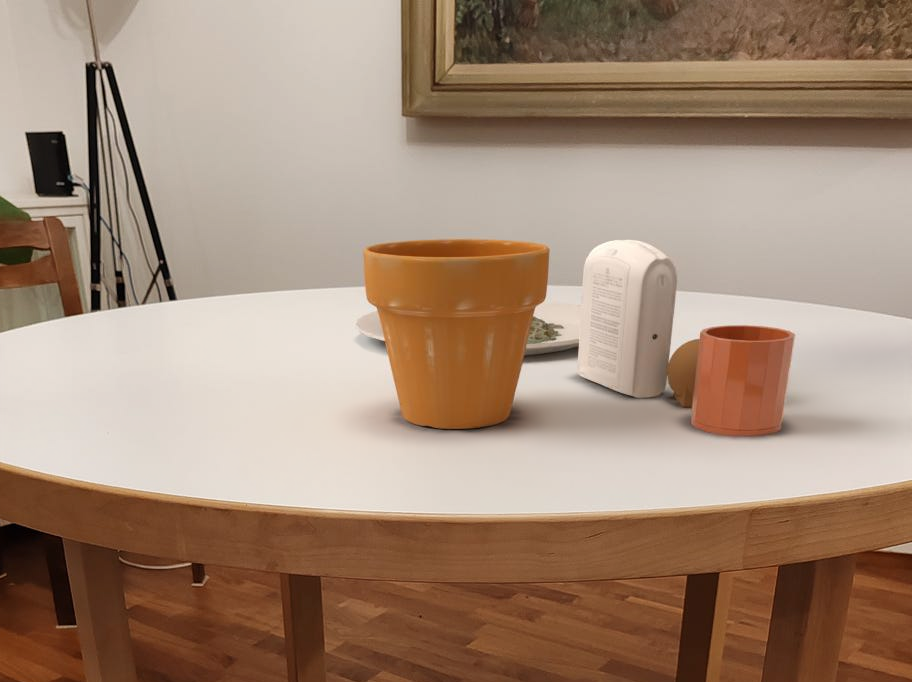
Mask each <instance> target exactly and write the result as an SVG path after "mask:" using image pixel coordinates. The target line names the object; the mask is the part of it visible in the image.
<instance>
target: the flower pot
mask: <svg viewBox="0 0 912 682" xmlns="http://www.w3.org/2000/svg"><path fill="white" fill-rule="evenodd" d="M550 252H551V251H550V248H549V246H547V245H545V244H543V243H537V242H529V241H521V240H509V239H508V240H507V239H487V238H486V239H485V238H483V239H482V238H439V239H437V238H436V239H415V240H400V241H391V242H383V243H376V244H373V245H370V246H367V247H365V248H363V255H362V256H363V271H364V272H363V273H364V285H365V286H364V288H365V296H366V300H367V302H368V303H369V304H370V305H372V306H374V307H375V308H376V311H378V314H379V318H380V322H381V326H382V330H383V334H384V339H385V341H384V342H385V347H386V352H387V356H388V361H389V365H390V370H391V373H392V378H393V382H394V386H395V390H396V391H395V392H396V395H397V399H398V403H399V407H400V411H401V415H402V417H403V419H404V420H405V421H407V422H408V423H410V424H413V425H416V426H422V427H426V426H427V427H431V428H434V429H444V430H445V429H446V430H447V429H448V430H464V429H477V428H483V427H484V428H485V427H488V426H489V427H490V426H494V425H498V424H500V423H502V422H504V421H507V419H508V418H509V417H510V415H511V411H512V408H513V403H514V399H515V396H516V395H515V394H516V390H517V387H518V383H519V379H520V376H521V371H522V367H523V364H524V363H523V362H524V358H525V355H524V354H525V350H526V345H527V340H528V336H529V331H530V327H531V322H532V318H533V315H534V311H535V308H536V306H538V305H539V304H541V303H542V302H543V301H545V300H546V298H547V292H548V283H549V266H550Z"/></svg>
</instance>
